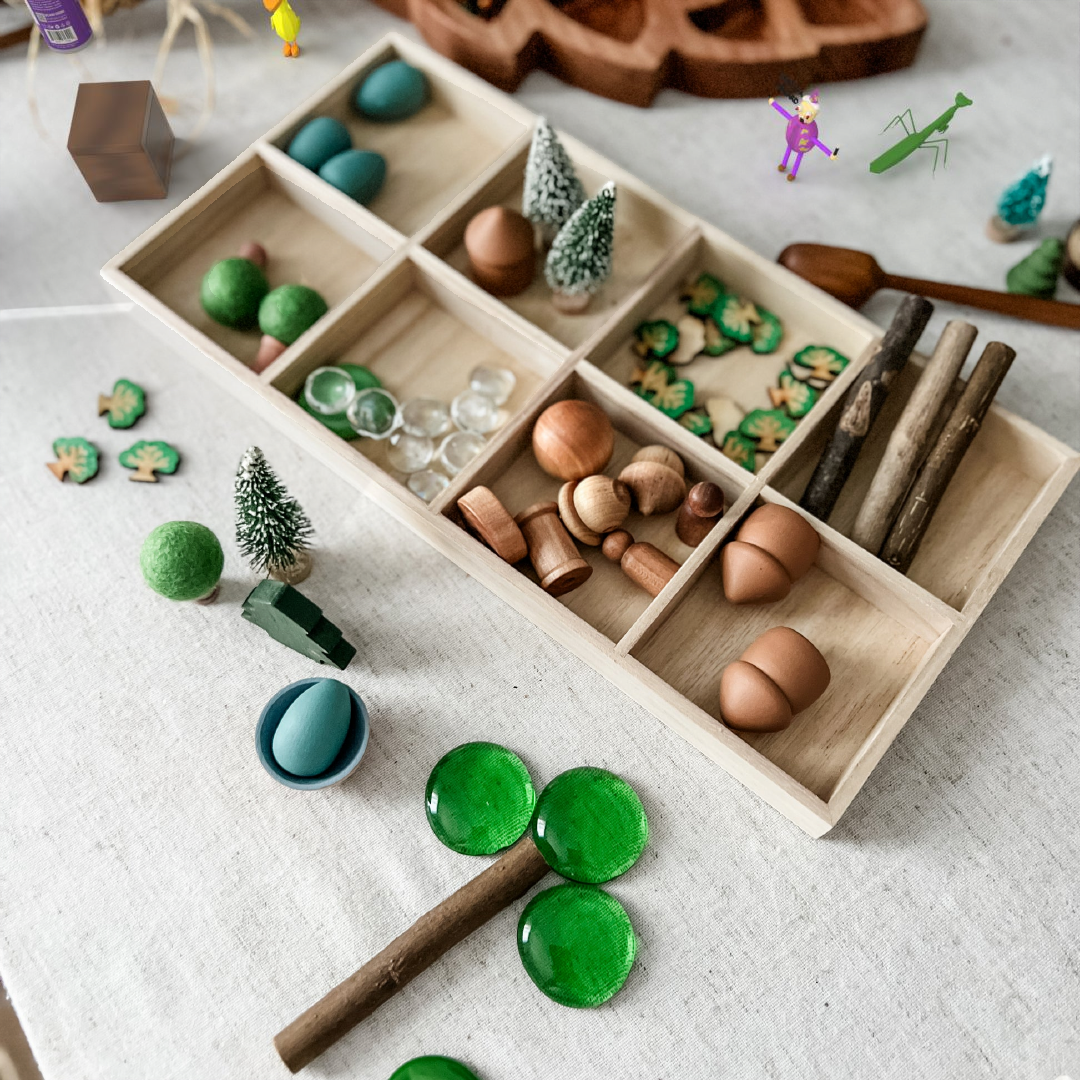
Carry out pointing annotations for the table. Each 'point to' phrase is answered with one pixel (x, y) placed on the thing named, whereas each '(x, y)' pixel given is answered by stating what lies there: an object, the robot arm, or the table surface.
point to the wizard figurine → (801, 127)
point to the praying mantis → (917, 138)
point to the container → (62, 24)
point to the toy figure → (284, 24)
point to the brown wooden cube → (121, 140)
